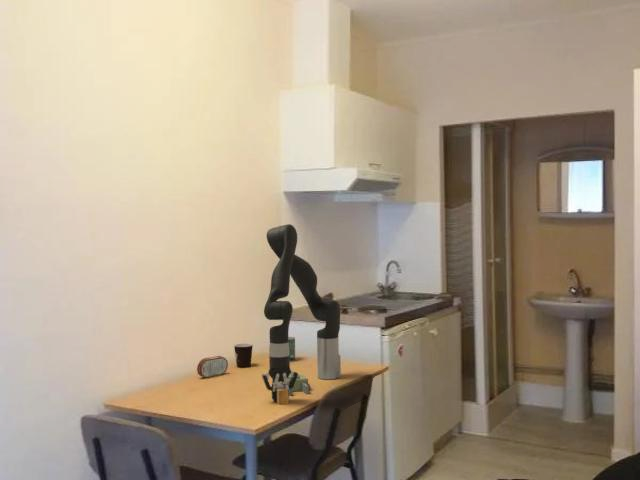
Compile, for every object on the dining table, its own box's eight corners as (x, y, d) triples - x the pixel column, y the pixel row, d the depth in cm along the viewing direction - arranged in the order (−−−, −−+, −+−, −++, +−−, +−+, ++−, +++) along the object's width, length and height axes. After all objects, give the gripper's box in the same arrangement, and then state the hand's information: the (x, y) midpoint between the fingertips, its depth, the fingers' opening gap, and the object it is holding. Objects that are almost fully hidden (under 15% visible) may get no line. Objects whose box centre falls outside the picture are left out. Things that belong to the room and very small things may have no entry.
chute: (281, 396, 257) (281, 383, 257) (288, 403, 247) (288, 389, 247) (272, 397, 256) (271, 384, 255) (278, 404, 246) (278, 390, 246)
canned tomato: (277, 362, 323) (277, 339, 323) (281, 358, 331) (280, 336, 330) (293, 362, 322) (293, 339, 321) (296, 359, 329) (296, 336, 329)
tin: (225, 372, 302) (224, 354, 301) (229, 373, 299) (228, 355, 299) (196, 378, 291) (196, 359, 291) (201, 379, 289) (200, 360, 289)
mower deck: (302, 384, 276) (302, 371, 276) (313, 393, 261) (313, 379, 261) (274, 387, 272) (274, 373, 272) (284, 396, 258) (283, 381, 257)
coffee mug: (251, 368, 310) (251, 346, 310) (233, 368, 310) (232, 347, 310) (254, 363, 321) (254, 342, 321) (236, 363, 322) (236, 342, 321)
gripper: (294, 351, 256) (295, 396, 257) (258, 354, 252) (259, 399, 252) (300, 354, 249) (301, 400, 250) (263, 357, 245) (264, 404, 245)
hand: (280, 400), depth 251 cm, fingers closed on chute, 3 cm apart
